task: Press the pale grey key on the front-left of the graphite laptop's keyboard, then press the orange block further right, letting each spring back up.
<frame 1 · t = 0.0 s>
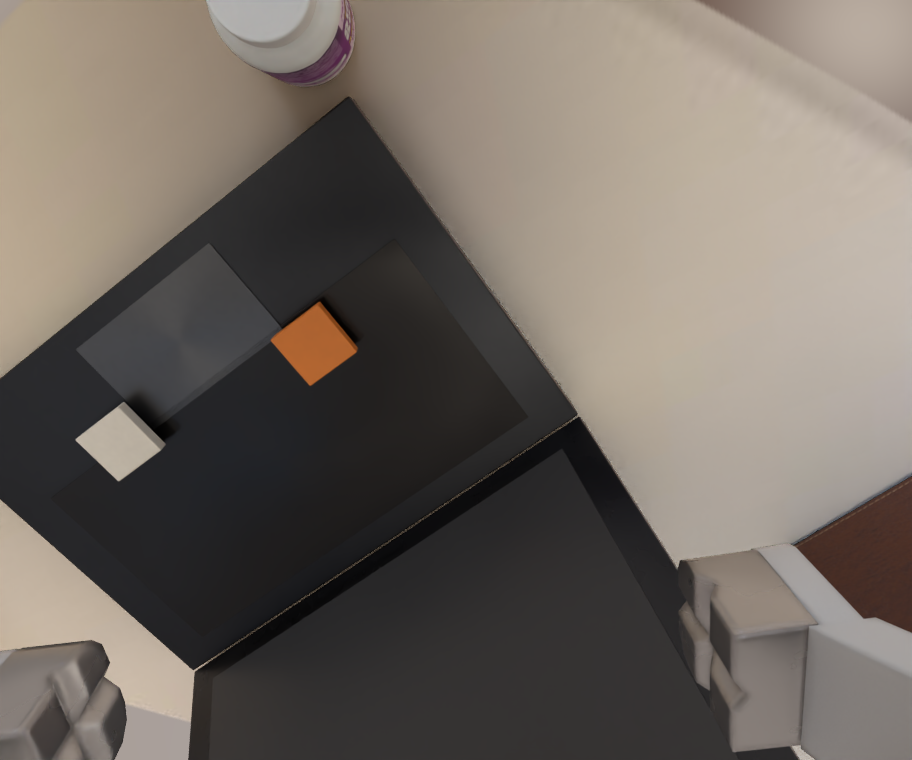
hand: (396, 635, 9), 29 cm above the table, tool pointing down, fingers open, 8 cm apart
laptop screen: (411, 718, 33), point 12 cm above the table, hinge at 110.0°
orange block: (314, 344, 35), point 3 cm above the table, slide at 0.1 cm
pill bottle: (303, 29, 33), on the table
laptop: (267, 412, 39), on the table
pale key: (121, 442, 36), point 3 cm above the table, slide at 0.1 cm
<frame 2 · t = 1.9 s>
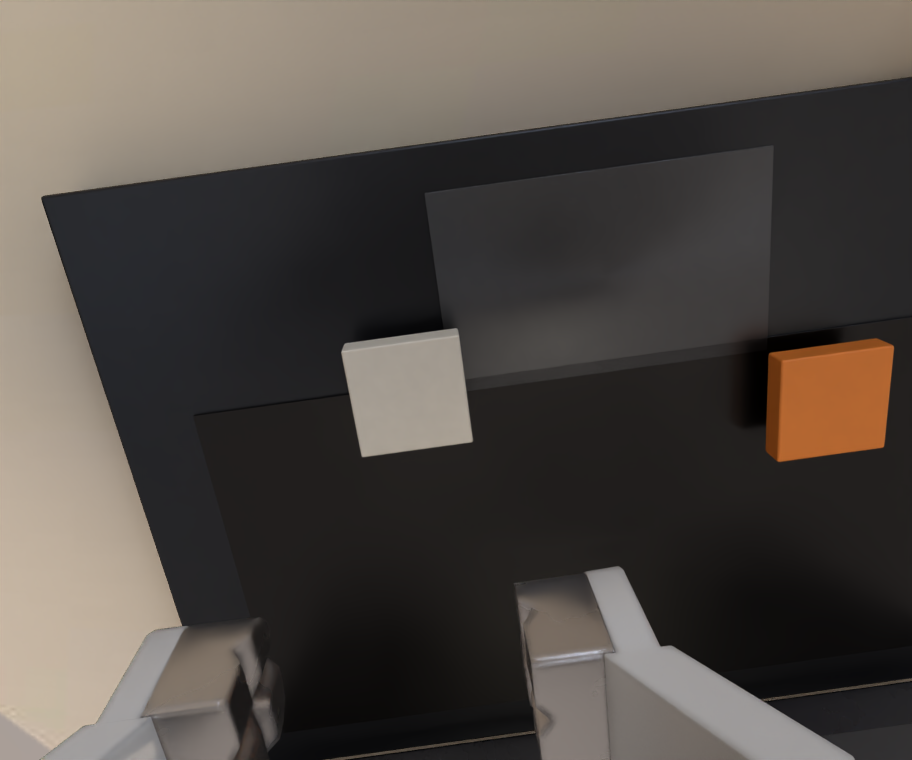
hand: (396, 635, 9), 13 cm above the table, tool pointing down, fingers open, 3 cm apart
orange block: (826, 400, 19), point 3 cm above the table, slide at 0.1 cm
laptop: (598, 442, 23), on the table
pale key: (409, 393, 19), point 3 cm above the table, slide at 0.1 cm
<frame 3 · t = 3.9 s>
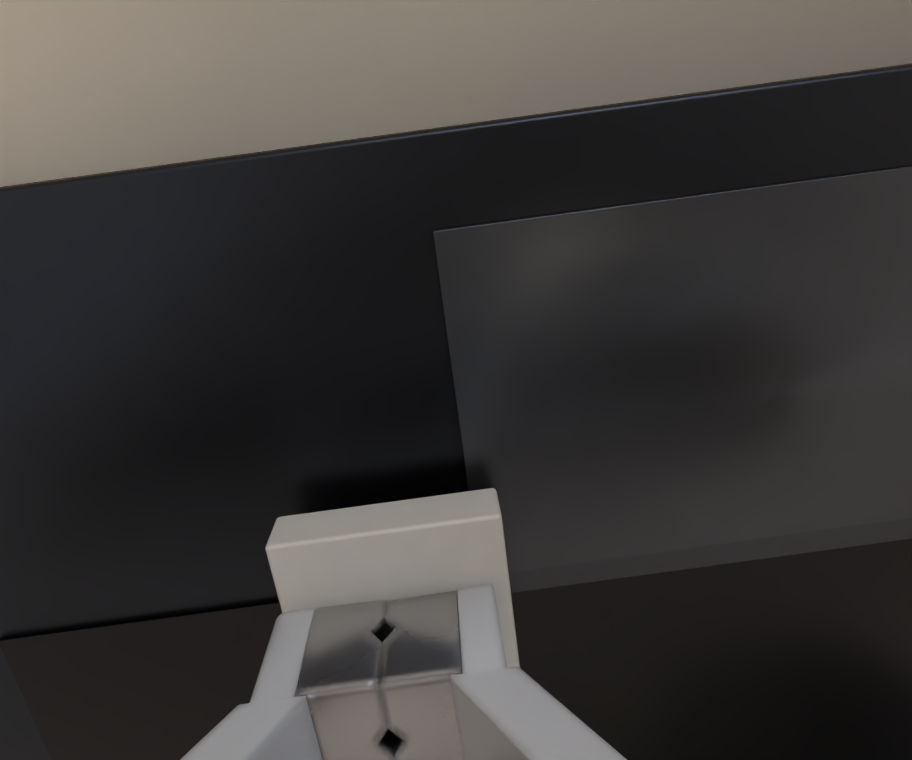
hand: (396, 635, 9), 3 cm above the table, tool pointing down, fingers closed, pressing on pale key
laptop: (719, 633, 14), on the table
pale key: (402, 609, 10), point 3 cm above the table, slide at -0.3 cm, touching gripper
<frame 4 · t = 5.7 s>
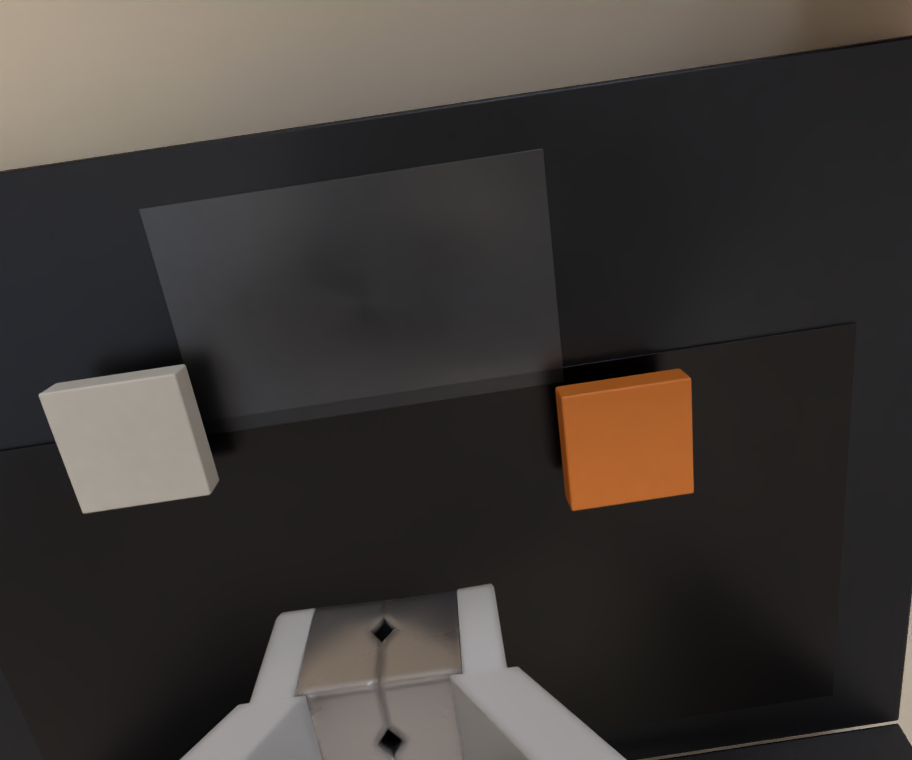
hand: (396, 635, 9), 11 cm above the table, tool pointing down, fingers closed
orange block: (625, 440, 17), point 3 cm above the table, slide at 0.1 cm
laptop: (407, 483, 20), on the table
pale key: (133, 439, 16), point 3 cm above the table, slide at 0.1 cm
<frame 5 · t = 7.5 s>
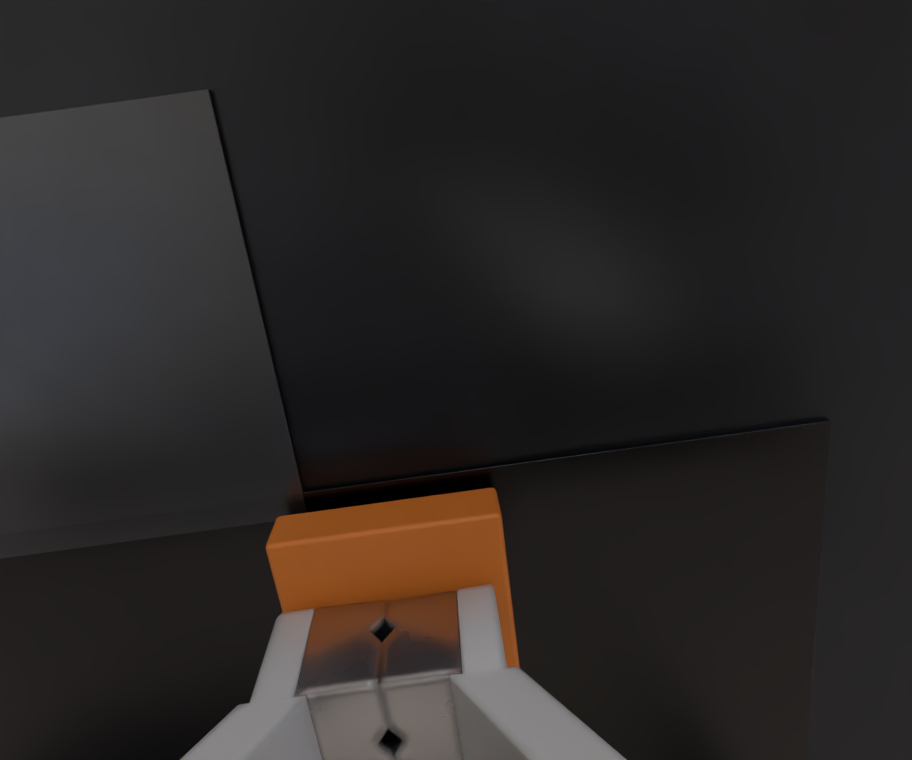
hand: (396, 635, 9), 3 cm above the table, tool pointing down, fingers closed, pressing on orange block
orange block: (401, 608, 10), point 3 cm above the table, slide at -0.5 cm, touching gripper
laptop: (118, 641, 13), on the table
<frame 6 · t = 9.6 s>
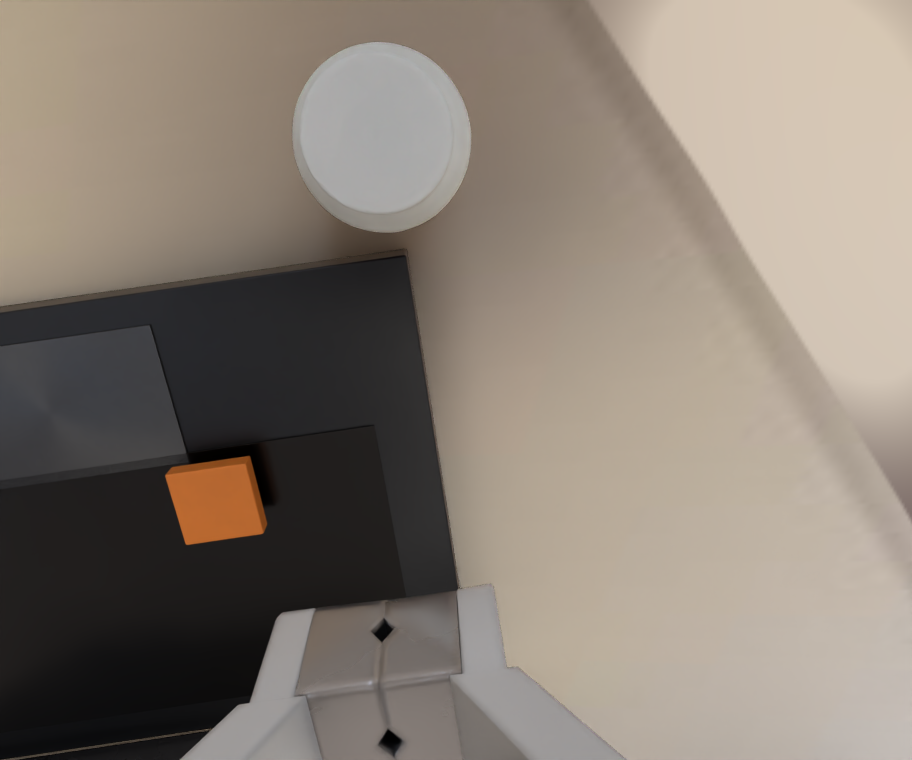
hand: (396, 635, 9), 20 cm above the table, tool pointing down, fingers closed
orange block: (217, 500, 27), point 3 cm above the table, slide at 0.1 cm
pill bottle: (391, 148, 26), on the table
laptop: (119, 523, 30), on the table
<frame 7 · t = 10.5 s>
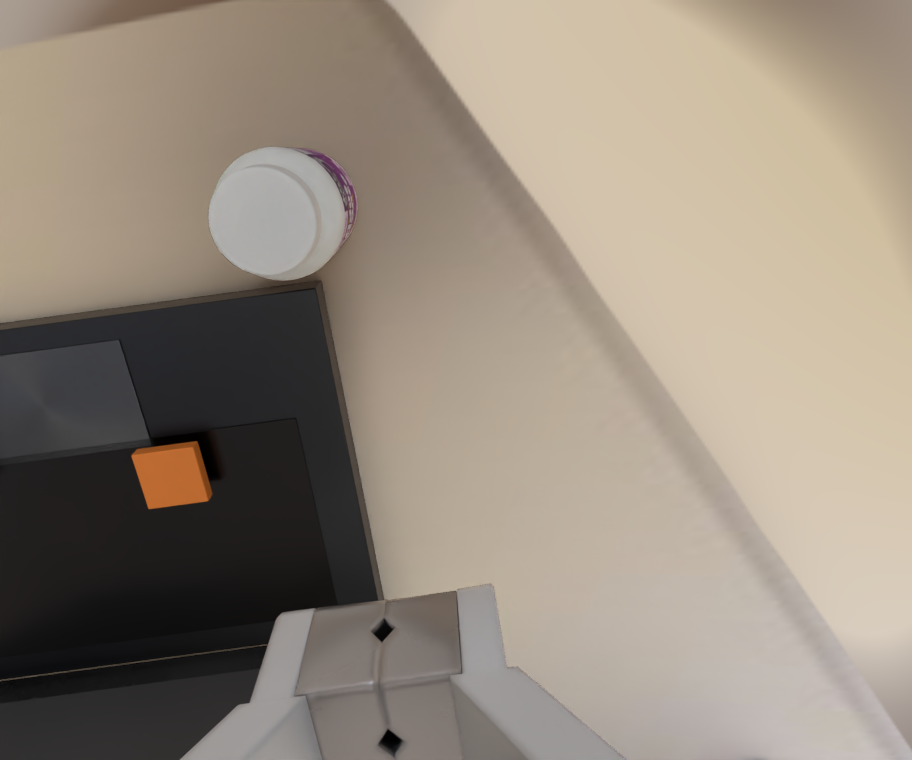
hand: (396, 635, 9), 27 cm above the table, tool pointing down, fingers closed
orange block: (172, 475, 34), point 3 cm above the table, slide at 0.1 cm
pill bottle: (307, 203, 33), on the table
laptop: (99, 493, 38), on the table
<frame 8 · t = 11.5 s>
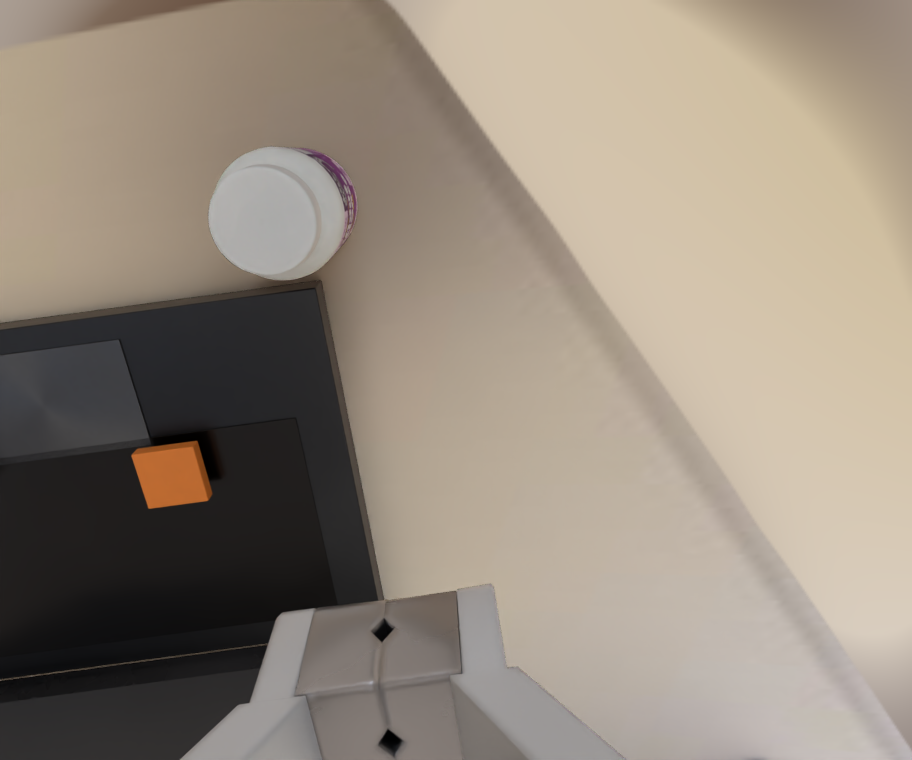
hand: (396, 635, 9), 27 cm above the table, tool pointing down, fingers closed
orange block: (172, 474, 34), point 3 cm above the table, slide at 0.1 cm
pill bottle: (307, 202, 33), on the table
laptop: (99, 492, 38), on the table
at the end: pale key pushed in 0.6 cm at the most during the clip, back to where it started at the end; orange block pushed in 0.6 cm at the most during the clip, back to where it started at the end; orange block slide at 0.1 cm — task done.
